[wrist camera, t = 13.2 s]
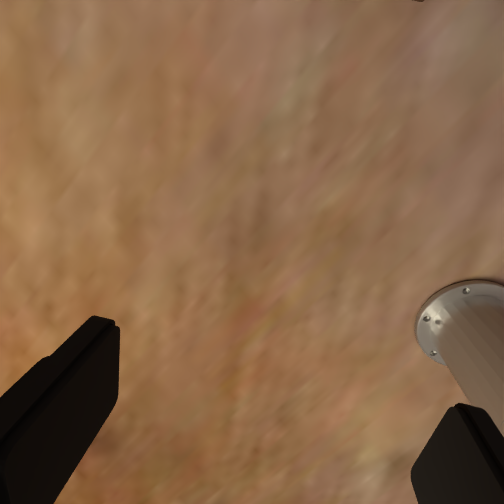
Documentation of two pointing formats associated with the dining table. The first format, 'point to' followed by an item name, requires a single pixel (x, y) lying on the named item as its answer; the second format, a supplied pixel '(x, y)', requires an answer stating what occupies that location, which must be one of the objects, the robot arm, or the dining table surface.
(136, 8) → the dining table surface
